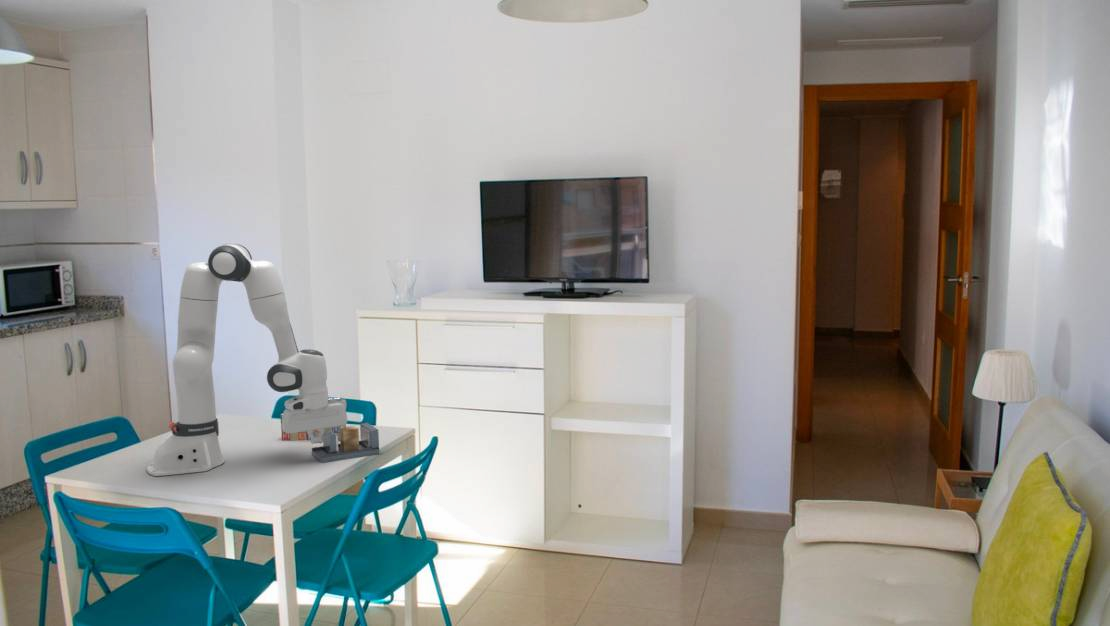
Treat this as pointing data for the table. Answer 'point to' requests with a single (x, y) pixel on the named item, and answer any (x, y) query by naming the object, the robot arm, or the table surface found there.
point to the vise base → (366, 447)
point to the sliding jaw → (330, 441)
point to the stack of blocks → (305, 435)
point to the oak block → (349, 438)
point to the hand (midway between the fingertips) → (316, 442)
